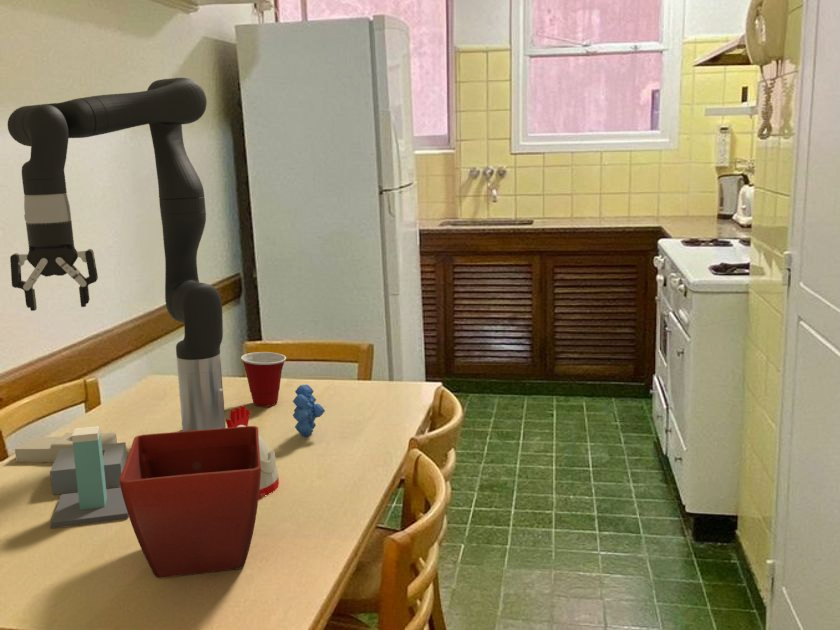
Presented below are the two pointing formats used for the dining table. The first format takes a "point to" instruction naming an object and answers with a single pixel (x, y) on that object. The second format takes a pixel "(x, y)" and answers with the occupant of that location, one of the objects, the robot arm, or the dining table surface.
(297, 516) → the dining table surface
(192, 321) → the robot arm
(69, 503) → the mat
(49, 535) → the dining table surface
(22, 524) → the dining table surface
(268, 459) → the kitchen timer
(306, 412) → the grapes
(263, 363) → the plastic cup
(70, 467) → the grey square socket block
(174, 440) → the plant pot
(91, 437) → the plug
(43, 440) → the electrical outlet
